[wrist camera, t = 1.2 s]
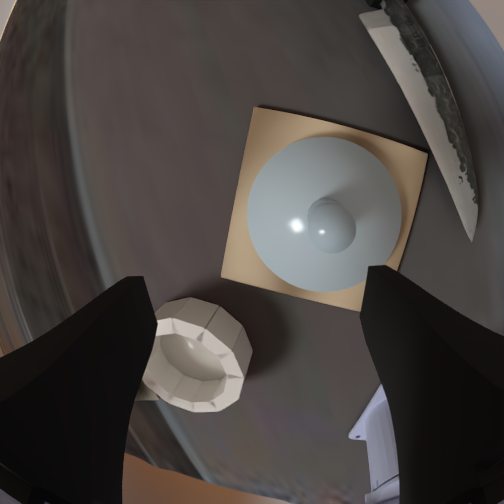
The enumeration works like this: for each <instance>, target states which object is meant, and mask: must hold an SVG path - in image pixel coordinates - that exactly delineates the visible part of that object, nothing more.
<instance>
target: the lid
mask: <svg viewBox="0 0 504 504" xmlns="http://www.w3.org/2000/svg"><path fill="white" fill-rule="evenodd" d="M401 218H402V215H401V203H400V197H399V194H398V190H397V187H396V185H395V183H394V181H393V178H392V177H391V175H390V173H389V172H388V170H387V169H386V168H385V166H384V165H383V164H382V163H381V162H380V160H378V159H377V158H376V157H375V156H374V155H373V154H372V153H370V152H369V151H368V150H366V149H365V148H363V147H361V146H359V145H357V144H355V143H353V142H350V141H347V140H344V139H339V138H334V137H313V138H308V139H304V140H300V141H298V142H295V143H292V144H290V145H288V146H287V147H285V148H283V149H281V150H280V151H279V152H277V153H276V154H275V155H274V156H272V157H271V158H270V159H269V160H268V161H267V162H266V164H265V165H264V166H263V167H262V169H261V170H260V172H259V173H258V175H257V177H256V178H255V180H254V183H253V185H252V188H251V191H250V194H249V198H248V205H247V223H248V230H249V234H250V237H251V240H252V243H253V245H254V248H255V250H256V251H257V253H258V255H259V257H260V258H261V259H262V261H263V262H264V263H265V265H266V266H267V267H268V268H269V269H270V270H271V271H272V272H273V273H275V274H276V275H277V276H278V277H280V278H281V279H283V280H284V281H286V282H288V283H289V284H292V285H294V286H296V287H299V288H302V289H305V290H310V291H316V292H333V291H339V290H344V289H347V288H350V287H353V286H356V285H358V284H360V283H362V282H363V281H365V280H366V278H367V272H368V266H375V265H384V263H385V262H386V261H387V259H388V258H389V256H390V255H391V253H392V251H393V249H394V247H395V245H396V242H397V239H398V237H399V232H400V228H401Z"/></svg>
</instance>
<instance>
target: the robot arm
mask: <svg viewBox="0 0 504 504" xmlns="http://www.w3.org/2000/svg"><path fill="white" fill-rule="evenodd" d="M360 320H361V324H362V328H363V333H364V336H365V340H366V344H367V346H368V349H369V352H370V354H371V357H372V360H373V362H374V365H375V367H376V370H377V373H378V376H379V378H380V381H381V385H380V386H379V388H378V389H377V391H376V393H375V395H374V396H373V398H372V399H371V401H370V403H369V404H368V406H367V407H366V409H365V411H364V412H363V414H362V415H361V417H360V418H359V420H358V421H357V423H356V424H355V426H354V427H353V429H352V430H351V431H350V433H349V438H350V439H357V440H366V442H367V451H368V459H369V469H370V479H371V491H372V492H371V493H368V494H366V495H365V504H504V336H502V335H500V334H497V333H495V332H493V331H491V330H489V329H487V328H485V327H483V326H482V325H480V324H478V323H476V322H474V321H472V320H471V319H469V318H467V317H465V316H464V315H462V314H460V313H459V312H457V311H456V310H454V309H452V308H451V307H449V306H448V305H446V304H444V303H443V302H441V301H440V300H438V299H437V298H435V297H434V296H432V295H431V294H430V293H428V292H427V291H425V290H424V289H422V288H421V287H419V286H418V285H416V284H415V283H414V282H412V281H411V280H409V279H408V278H406V277H405V276H403V275H402V274H400V273H399V272H397V271H396V270H394V269H392V268H391V267H389V266H387V265H375V266H368V272H367V278H366V284H365V290H364V295H363V301H362V306H361V311H360ZM157 327H158V322H157V319H156V316H155V313H154V310H153V307H152V304H151V301H150V297H149V294H148V291H147V288H146V284H145V281H144V277H143V276H127V277H125V278H124V279H122V280H120V281H119V282H117V283H116V284H114V285H113V286H111V287H110V288H108V289H107V290H106V291H104V292H103V293H102V294H100V295H99V296H97V297H96V298H95V299H93V300H92V301H91V302H89V303H88V304H87V305H85V306H84V307H83V308H81V309H80V310H79V311H77V312H76V313H74V314H73V315H72V316H70V317H69V318H67V319H66V320H65V321H63V322H62V323H60V324H59V325H58V326H56V327H55V328H53V329H52V330H50V331H48V332H47V333H45V334H44V335H42V336H40V337H39V338H37V339H35V340H34V341H32V342H30V343H28V344H27V345H25V346H23V347H21V348H19V349H17V350H15V351H13V352H11V353H9V354H7V355H5V356H3V357H1V358H0V504H122V476H123V461H124V452H125V444H126V437H127V431H128V426H129V420H130V415H131V411H132V408H133V404H134V401H135V398H136V395H137V392H138V389H139V386H140V383H141V381H142V378H143V375H144V372H145V369H146V367H147V364H148V361H149V358H150V355H151V352H152V349H153V345H154V341H155V336H156V331H157Z"/></svg>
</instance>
